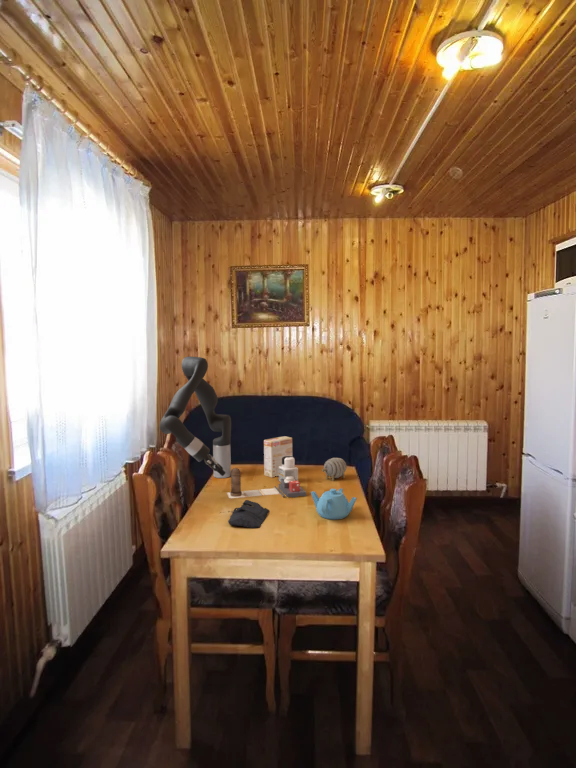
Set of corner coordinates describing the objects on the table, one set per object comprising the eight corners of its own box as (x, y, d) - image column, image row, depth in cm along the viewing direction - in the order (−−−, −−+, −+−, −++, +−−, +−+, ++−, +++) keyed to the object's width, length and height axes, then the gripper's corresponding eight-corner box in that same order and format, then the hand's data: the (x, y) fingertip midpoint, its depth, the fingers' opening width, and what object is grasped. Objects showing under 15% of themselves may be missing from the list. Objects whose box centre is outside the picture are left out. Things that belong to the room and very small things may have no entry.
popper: (278, 488, 238) (278, 475, 237) (296, 486, 240) (296, 474, 240) (287, 497, 223) (287, 485, 222) (306, 496, 225) (306, 483, 225)
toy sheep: (352, 477, 255) (352, 457, 254) (331, 484, 244) (331, 462, 243) (337, 473, 263) (337, 453, 262) (316, 480, 251) (316, 459, 251)
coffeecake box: (284, 470, 271) (284, 435, 270) (293, 472, 266) (293, 437, 264) (263, 475, 262) (263, 439, 260) (271, 477, 256) (271, 441, 255)
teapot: (309, 510, 206) (309, 485, 205) (341, 506, 211) (341, 482, 210) (322, 523, 192) (322, 496, 191) (357, 518, 196) (357, 492, 195)
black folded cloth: (221, 528, 188) (221, 516, 188) (236, 509, 210) (236, 498, 209) (260, 530, 186) (260, 518, 185) (270, 510, 207) (270, 499, 207)
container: (278, 480, 251) (278, 456, 249) (291, 478, 254) (291, 454, 253) (284, 484, 244) (284, 459, 242) (298, 482, 247) (298, 457, 246)
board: (222, 493, 231) (222, 490, 230) (275, 488, 238) (275, 485, 238) (228, 503, 215) (228, 501, 215) (284, 498, 222) (284, 495, 222)
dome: (282, 483, 237) (282, 476, 237) (293, 482, 239) (293, 475, 238) (285, 487, 232) (285, 479, 231) (296, 486, 233) (296, 478, 233)
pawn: (229, 493, 226) (229, 467, 225) (240, 492, 227) (240, 466, 226) (231, 496, 221) (230, 469, 220) (242, 495, 222) (242, 468, 221)
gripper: (204, 445, 211) (230, 469, 215) (201, 439, 225) (226, 462, 229) (192, 458, 210) (219, 482, 214) (189, 451, 224) (215, 474, 228)
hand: (222, 471), depth 222 cm, fingers open, 8 cm apart
